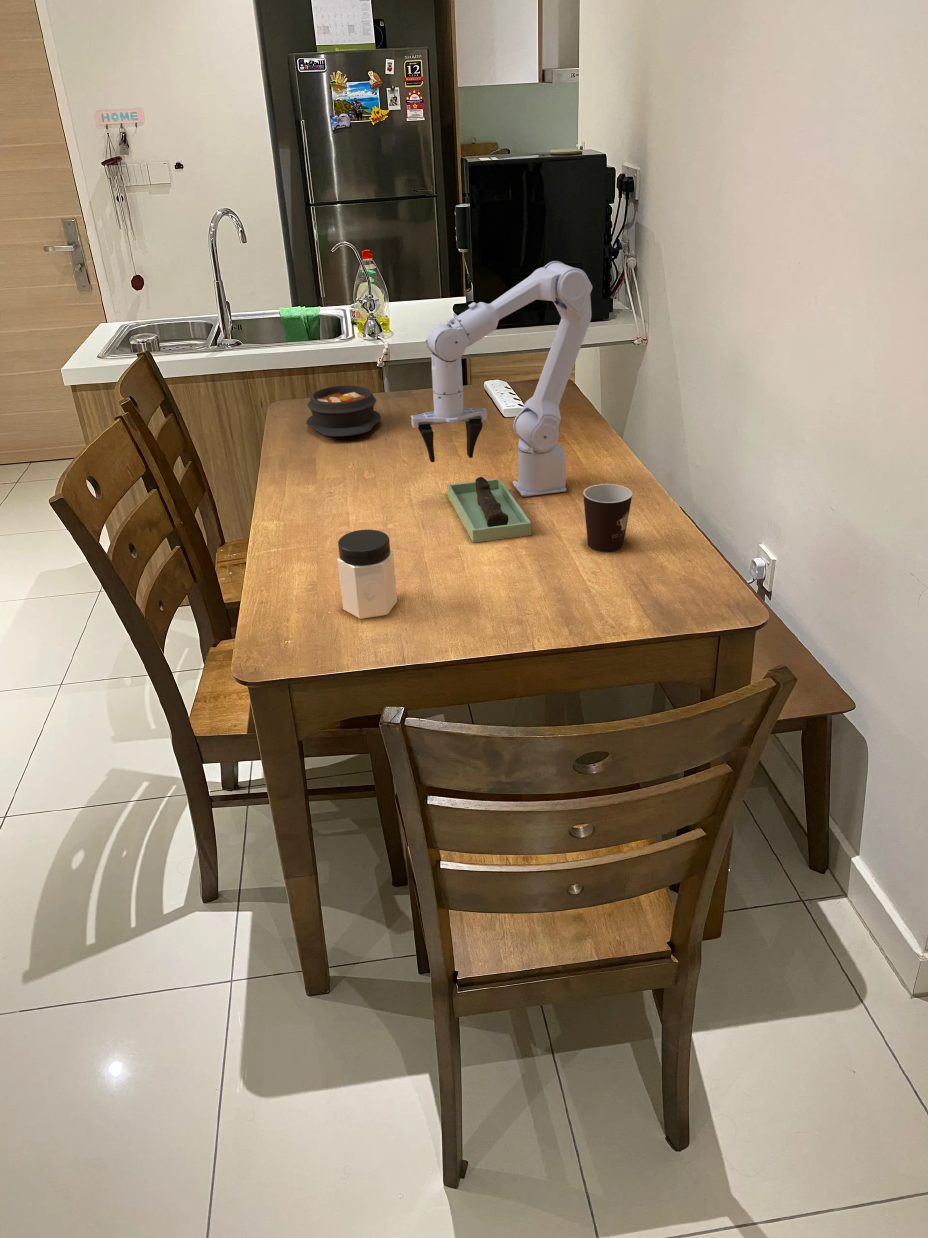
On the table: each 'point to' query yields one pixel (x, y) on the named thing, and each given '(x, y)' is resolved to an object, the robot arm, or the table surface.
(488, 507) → the hand tool
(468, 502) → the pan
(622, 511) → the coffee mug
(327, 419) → the casserole
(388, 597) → the jar
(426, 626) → the table surface
